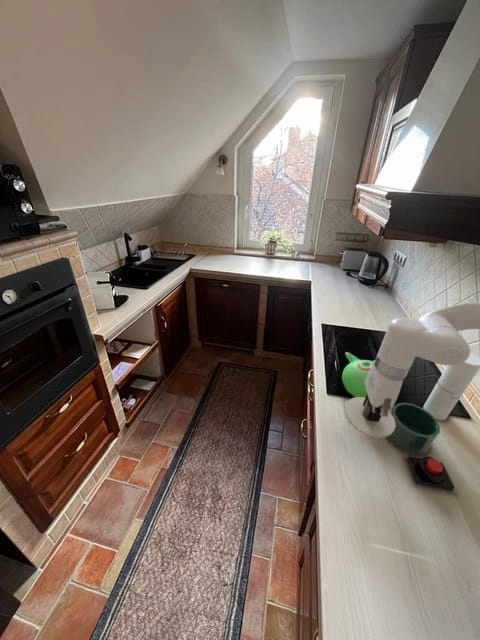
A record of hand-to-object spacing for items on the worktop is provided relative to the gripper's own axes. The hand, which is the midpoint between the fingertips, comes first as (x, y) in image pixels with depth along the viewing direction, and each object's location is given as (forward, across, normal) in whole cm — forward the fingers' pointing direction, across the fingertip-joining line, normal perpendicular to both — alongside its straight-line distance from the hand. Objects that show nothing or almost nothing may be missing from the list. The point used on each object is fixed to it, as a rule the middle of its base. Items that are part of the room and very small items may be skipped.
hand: (370, 412), depth 73 cm
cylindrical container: (+14, -19, +30) cm, 38 cm away
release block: (+14, +6, +18) cm, 24 cm away
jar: (+14, -6, +16) cm, 22 cm away
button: (+11, +6, +18) cm, 22 cm away
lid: (+2, 0, 0) cm, 2 cm away
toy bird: (+14, -23, +6) cm, 28 cm away
